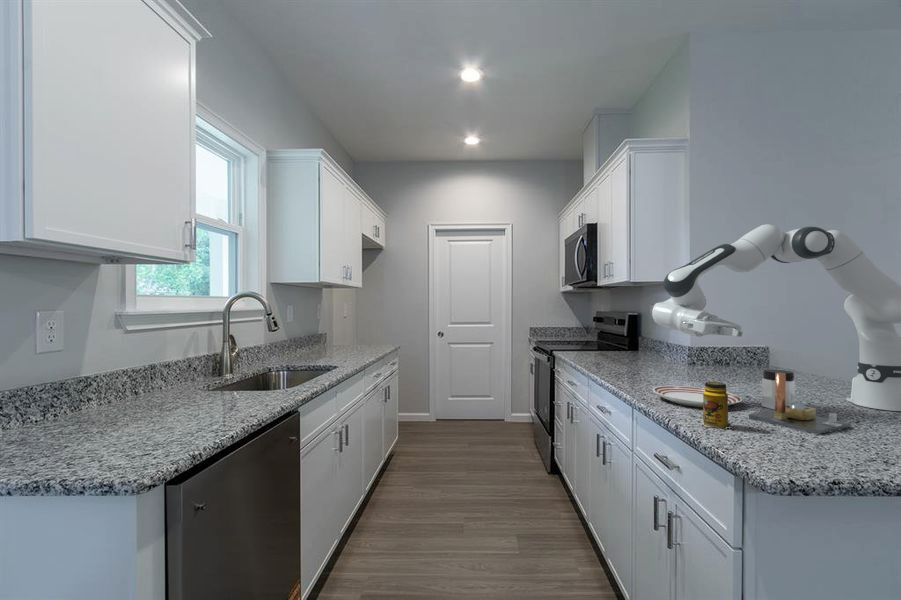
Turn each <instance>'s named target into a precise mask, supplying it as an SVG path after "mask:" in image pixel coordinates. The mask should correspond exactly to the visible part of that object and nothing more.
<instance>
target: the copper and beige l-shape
mask: <svg viewBox="0 0 901 600" xmlns="http://www.w3.org/2000/svg"><path fill="white" fill-rule="evenodd" d="M816 416H817V409H816V408H815V407H811V406H805V410H798V409H793V408H789V404H786V374H785V373H775V412H774V418H779V419H784V418H789V417H790V418H794V419H799V420H810V419H815V418H816Z"/></svg>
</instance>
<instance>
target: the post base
mask: <svg viewBox="0 0 901 600" xmlns="http://www.w3.org/2000/svg"><path fill="white" fill-rule="evenodd" d="M805 407H806V405H805V404H804V403H800V402H795V403H789V408H793V409H798V410H805ZM774 412H775V410H774V409H770V410H764V411H761V412H754V413H749V414H748V419H750V418H751V420H754V419H755V421H758V420H760V422H763V421H764V422H763V423H767V422H769V423H768V424H771V423H773V424H772V425H775V424H778V425H777V426H780V425H783V426H782V427H784V426H787V427H786V428H788V427H791V428H790V429H793V428H795V429H794V430H797V429H799V430H798V431H801V430H804V431H803V432H805V431H808V432H807V433H810V432H812V433H811V434H814V433H817V434H816V435H818V434H821V435H823V434H822V433H825V434H827V433H826V432H829V433H831V432H830V431H833V432H836V431H835V430H837V431H840V430H839V429H842V430H845V429H844V428H846V429H849V428H848V427H850V428H851V424H852V423H851V422H847V421H843V420H838V418H837V417H838V414H837V413H831V412H829V413H828V417H823V416H818V415H816V418H815V419H810V420H799V419H794V418H790V417H789V418H784V419H779V418H774Z"/></svg>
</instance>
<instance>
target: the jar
mask: <svg viewBox="0 0 901 600" xmlns="http://www.w3.org/2000/svg"><path fill="white" fill-rule="evenodd" d="M775 373H785V374H786V404H789V403H796V380H795V373H794V372H793V371H790V370H785V369H763V371H762V374H763V377H762V378H761V406H762V407H764V408H767V409H770V410H775Z"/></svg>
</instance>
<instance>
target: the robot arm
mask: <svg viewBox="0 0 901 600" xmlns="http://www.w3.org/2000/svg"><path fill="white" fill-rule="evenodd" d="M769 258H771V259H773V261H776V262H778V263H781V264H782V263H783V264H790V263H802V262H805V261H808V260H817V261H818V262H819V263H820V265H822V267H823V268H824V269H825V271H826V272H827V273H828V274H829V276H830V277H831V278H832V279H833V280H834V282H836V284H837V285H838V287H840V288H841V289H843V290H844V291H847V292H848V293H851V294H850V295H848V297H846V298H845V301H844V303H843V308H844V311H845V314H847V315H848V316H849V318H851V320H852V321H853V324H854V327H855V329H856V333H857V337H858V346H859V349H858V351H859V353H858V354H859V355H858V356H859V361H858V363H857V366H856V369H857V373H858V374H857V375H856V376H854V377H853V378H852V380H851V381H852V382H851V393H850V396H849V397H846V399H845V400H846V401H847V402H850V403H852V404H854V405H857V406H860V407H864V408H871V409H875V410H877V409H878V410H882V411H883V410H884V411H890V412H891V411H893V412H901V336H900V335H899V334H898V332H897V329H896V327H895V325H894V324H901V284H899V283H898V282H896V281H895V280H894V279H892V278H891V277H889V276H888V275H886V274H885V273H884V272H883V271H882V270H880V269H879V268H878V267H877V266H876V264H874V262H873V261H872V260H871V259H870V258H869V257H868V255H867V254H866V253H865V252H864V251H863V249H862V248H861V247H860V246H859V245H858V244H857V243H856V242H855V241H854V240H853V239H852V238H851V237H849V236H848V235H847V234H845V233H844V232H843V231H841V230H838V229H829V230H826V229H823V228H821V227H817V226H804V227H801V228H796V229H791V230H789V231H786V232H783V231H782V230H781V229H780V228H779V227H777V226H776V225H774V224H768V223H766V224H762V225H760V226H757V227H755V228H754V229H751V230H750V231H748V232H747V233H745V234H744V235H743V236H741V237H739V238H738V239H737V240H736V241H734V242H733V243H730V244H729V243H723V244H720V245H718V246H716V247H714V248H712V249H710V250H708V251H706V252H705V253H702V255H700V256H698V257H696V258H695V259H693V260H691V261H690V262H688V263H686V264H685V265H682V266H680V267H678V268H675V269H673V270H671V271H670V272H669V273H668V274H666V276H665V278H664V279H663V281H662V282H663V283H662V286H663V288H664V289H665V291H666V293H667V294H668V295H669V297H670V298H669V299H667V300H665V301H663V302H662V301H660V302H655V304H653V307H652V312H651V315H652V319H653V321H654V322H655V323H656V324H657V325H659V326H661V327H664V328H666V329H668V330H673V331H679V332H682V333H683V334H687V335H690V336H694V337H697V338H701V337H704V336H706V335H717V336H732V337H738V338H739V337H742V336H743V333H744V332H743V331H742V326H741V325H739V324H737V323H734V322H732V321H729V320H725V319H722V318H719V317H718V315H715V314H711V313H709V312H708V311H705V310H704V308H705V307H706V304H707V299H706V297H705V294H704V292H703V291H702V289H701V287H700V285H699V283H698V281H699V278H700V277H701V276H702V275H704V274H706V273H708V272H709V271H711V270H713V269H715V268H716V267H718V266H721V265H723V266H725V268H728V269H729V270H731V271H733V272H736V273H749V272H751V271H753V270H755V269H756V268H758V267H759V266H761V264H763V263H765V262H766V261H767V260H768V259H769Z"/></svg>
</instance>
